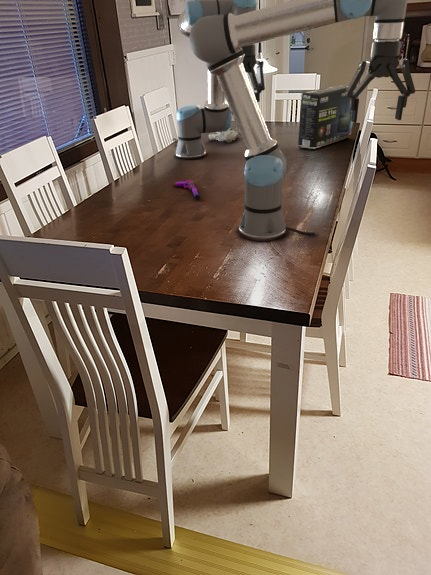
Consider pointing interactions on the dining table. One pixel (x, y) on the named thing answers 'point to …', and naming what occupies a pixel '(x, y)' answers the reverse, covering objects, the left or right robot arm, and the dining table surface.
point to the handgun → (189, 185)
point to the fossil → (225, 135)
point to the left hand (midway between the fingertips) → (245, 112)
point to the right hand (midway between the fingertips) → (375, 120)
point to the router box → (324, 116)
